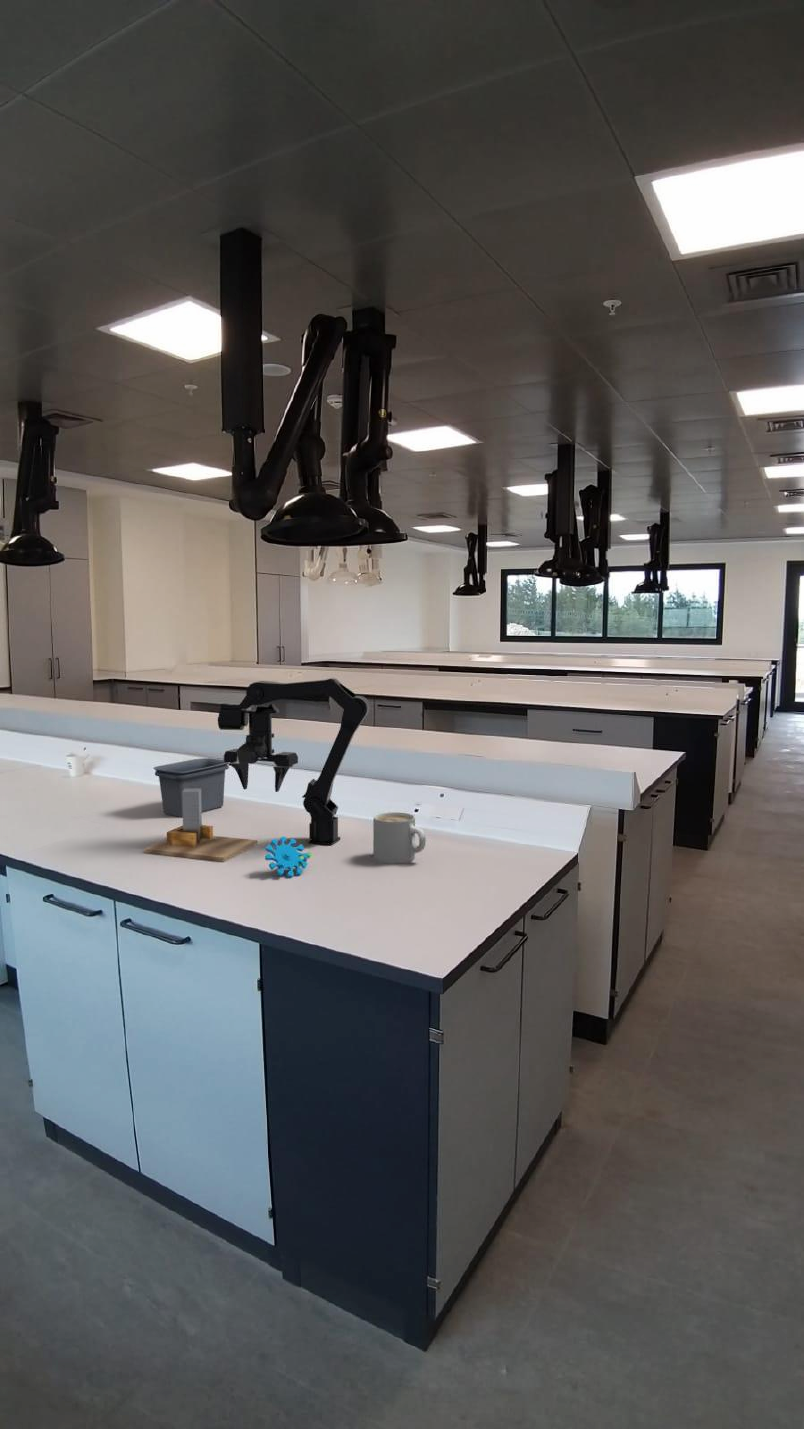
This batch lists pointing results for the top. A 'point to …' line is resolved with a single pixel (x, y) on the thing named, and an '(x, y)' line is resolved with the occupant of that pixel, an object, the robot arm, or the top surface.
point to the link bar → (192, 812)
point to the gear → (287, 857)
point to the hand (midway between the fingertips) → (261, 790)
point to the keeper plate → (200, 845)
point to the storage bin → (192, 783)
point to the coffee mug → (396, 838)
